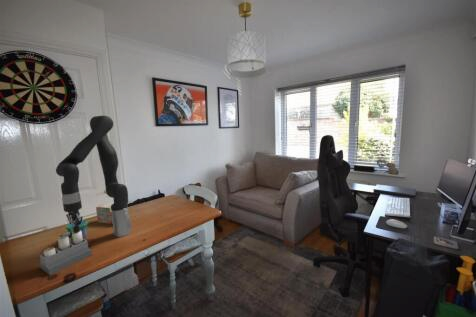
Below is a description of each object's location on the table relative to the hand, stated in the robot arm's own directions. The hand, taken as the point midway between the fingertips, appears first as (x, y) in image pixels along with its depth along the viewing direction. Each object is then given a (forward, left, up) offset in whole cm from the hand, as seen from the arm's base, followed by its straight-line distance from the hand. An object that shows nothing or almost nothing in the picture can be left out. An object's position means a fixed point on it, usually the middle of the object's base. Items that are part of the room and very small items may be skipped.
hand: (76, 232), depth 113 cm
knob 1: (+12, 0, -10) cm, 15 cm away
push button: (0, -12, -13) cm, 18 cm away
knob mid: (+6, 0, -6) cm, 9 cm away
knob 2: (0, 0, -6) cm, 6 cm away
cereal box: (-33, -26, -14) cm, 44 cm away
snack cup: (-8, -20, -14) cm, 25 cm away
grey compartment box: (+6, 0, -13) cm, 14 cm away
